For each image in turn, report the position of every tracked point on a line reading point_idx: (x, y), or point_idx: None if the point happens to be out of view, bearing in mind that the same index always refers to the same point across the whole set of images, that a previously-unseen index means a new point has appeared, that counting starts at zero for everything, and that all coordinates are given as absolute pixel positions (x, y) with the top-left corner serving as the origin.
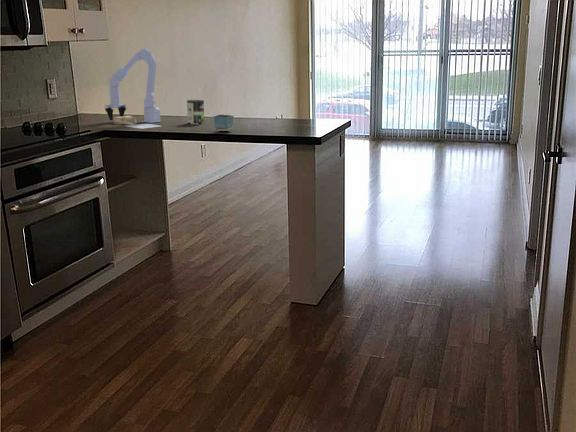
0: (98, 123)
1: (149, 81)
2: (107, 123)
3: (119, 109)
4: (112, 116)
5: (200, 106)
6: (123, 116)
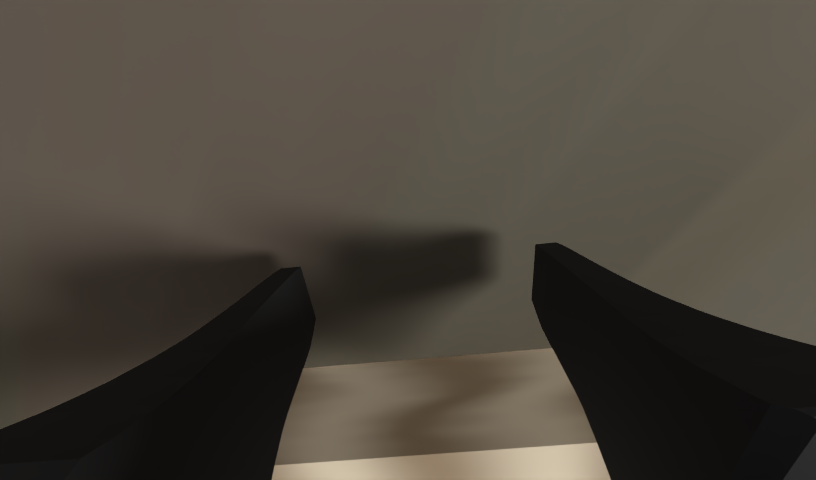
0: (73, 221)
1: None
2: (222, 301)
3: (678, 421)
4: (291, 386)
5: None
6: (460, 475)
